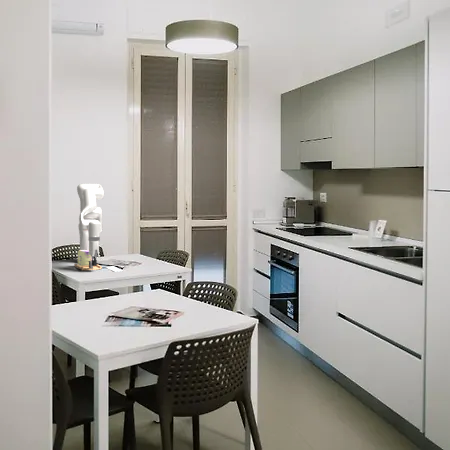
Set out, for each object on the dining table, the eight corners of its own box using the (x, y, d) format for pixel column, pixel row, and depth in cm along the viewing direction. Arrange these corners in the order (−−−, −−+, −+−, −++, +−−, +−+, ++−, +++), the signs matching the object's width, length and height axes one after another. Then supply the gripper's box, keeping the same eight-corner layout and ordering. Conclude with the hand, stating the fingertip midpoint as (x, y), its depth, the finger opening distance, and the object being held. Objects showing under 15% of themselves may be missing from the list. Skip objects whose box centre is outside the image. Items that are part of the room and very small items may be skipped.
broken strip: (105, 267, 421) (105, 266, 421) (114, 267, 424) (114, 266, 424) (114, 271, 403) (114, 271, 403) (122, 271, 406) (122, 270, 406)
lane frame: (74, 266, 423) (74, 258, 423) (94, 265, 430) (93, 256, 430) (81, 270, 406) (81, 261, 405) (101, 269, 413) (101, 260, 412)
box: (94, 266, 423) (94, 250, 422) (91, 268, 417) (91, 251, 416) (80, 265, 425) (80, 249, 423) (77, 267, 419) (77, 250, 418)
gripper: (85, 238, 407) (85, 264, 409) (91, 240, 394) (91, 267, 395) (96, 237, 411) (96, 263, 412) (102, 240, 397) (102, 267, 399)
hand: (94, 265), depth 404 cm, fingers closed
